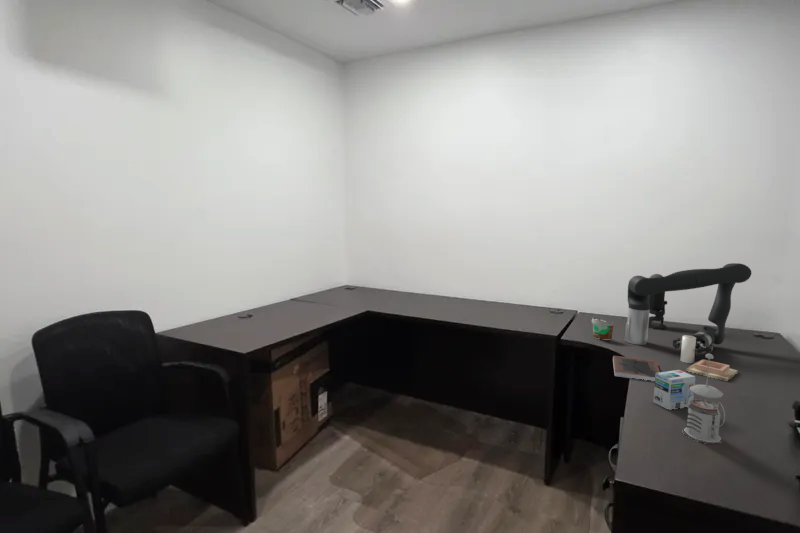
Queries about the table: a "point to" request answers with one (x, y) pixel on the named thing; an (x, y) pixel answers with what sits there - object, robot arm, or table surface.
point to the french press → (704, 427)
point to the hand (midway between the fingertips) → (686, 348)
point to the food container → (602, 328)
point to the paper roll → (688, 349)
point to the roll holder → (712, 370)
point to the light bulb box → (673, 389)
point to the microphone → (657, 308)
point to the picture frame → (635, 368)
